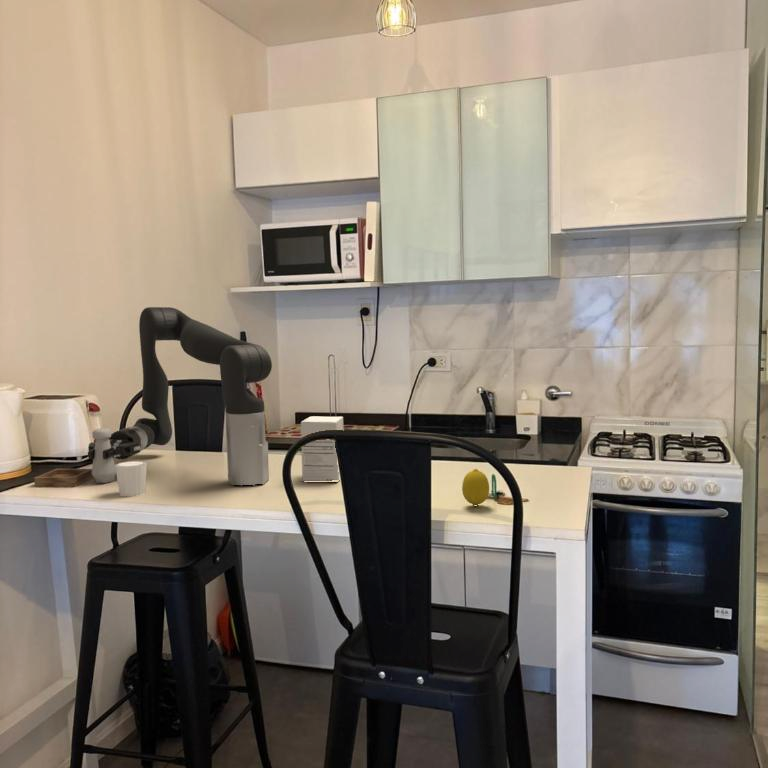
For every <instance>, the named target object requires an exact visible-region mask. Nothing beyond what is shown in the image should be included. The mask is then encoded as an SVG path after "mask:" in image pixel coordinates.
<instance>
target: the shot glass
mask: <svg viewBox="0 0 768 768" xmlns="http://www.w3.org/2000/svg"><path fill="white" fill-rule="evenodd" d="M115 467H116V480H117V486H118V493H119V496H120V495H121V497H126V496H127V497H137V495H138V496H141V495H140V494H142V495H144V494H146V485H147V484H146V482H147V461H145V460H144V461H141V460H131V461H122V462H119V463H115ZM143 493H144V494H143Z"/></svg>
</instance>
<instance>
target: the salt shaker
mask: <svg viewBox="0 0 768 768" xmlns="http://www.w3.org/2000/svg"><path fill="white" fill-rule="evenodd" d="M111 434H112V431H111V429H110V428H106V427H103V428H96V429H94V430H93V431H92V433H91V435H92V439H93V440H95V442H94V444H95V455H94V459H92V465H91V466H92V467H91V469H92V472H91V473H92V476H93V477H94V478H93V479H94V481H96V483H97V484H98V483H99V484H101V483H102V484H104V483H111V482H113V481H114V480H115V478H116V476H117V474H116V467H115V465H116V461H115V457H113V456H112V457H110V458H109V459H103V451H104V450H106V449H110V448H111V445H110V441H109V438H110V437H111Z"/></svg>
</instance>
